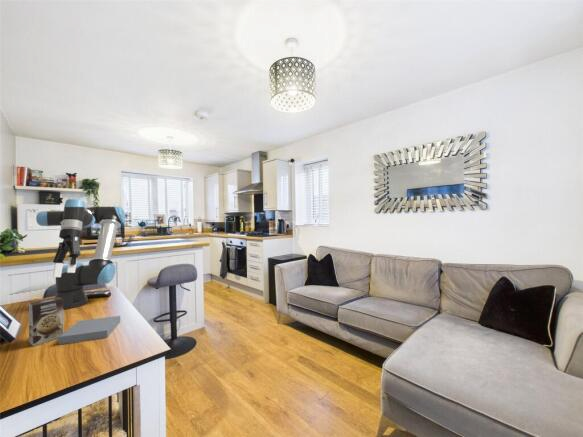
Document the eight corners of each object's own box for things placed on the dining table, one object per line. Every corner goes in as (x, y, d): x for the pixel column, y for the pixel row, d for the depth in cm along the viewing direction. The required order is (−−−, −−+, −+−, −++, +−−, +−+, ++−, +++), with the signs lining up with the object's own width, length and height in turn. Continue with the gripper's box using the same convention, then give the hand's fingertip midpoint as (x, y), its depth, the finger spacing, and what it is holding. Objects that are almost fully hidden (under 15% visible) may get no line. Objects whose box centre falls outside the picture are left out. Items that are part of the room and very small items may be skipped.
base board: (78, 327, 111) (78, 320, 111) (120, 321, 116) (120, 315, 116) (58, 344, 96) (58, 337, 96) (107, 337, 101) (107, 330, 101)
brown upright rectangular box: (33, 346, 94) (32, 305, 94) (28, 342, 98) (27, 302, 98) (64, 336, 102) (63, 298, 102) (59, 333, 106) (58, 296, 105)
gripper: (49, 234, 120) (40, 278, 113) (73, 222, 109) (66, 270, 102) (68, 237, 126) (61, 279, 119) (93, 225, 115) (87, 270, 109)
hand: (63, 275), depth 111 cm, fingers open, 13 cm apart
